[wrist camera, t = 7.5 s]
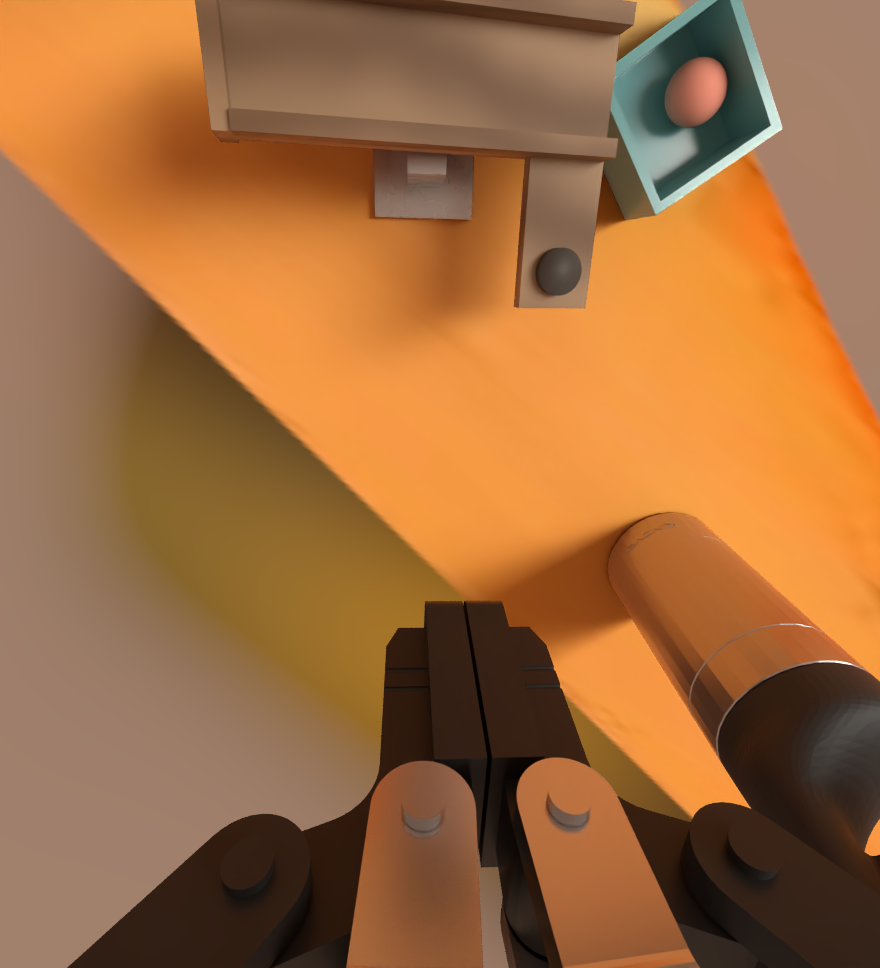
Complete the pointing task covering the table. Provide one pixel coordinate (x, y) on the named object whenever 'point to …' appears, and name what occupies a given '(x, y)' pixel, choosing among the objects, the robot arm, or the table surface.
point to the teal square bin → (671, 148)
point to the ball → (696, 92)
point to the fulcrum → (423, 185)
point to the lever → (437, 98)
